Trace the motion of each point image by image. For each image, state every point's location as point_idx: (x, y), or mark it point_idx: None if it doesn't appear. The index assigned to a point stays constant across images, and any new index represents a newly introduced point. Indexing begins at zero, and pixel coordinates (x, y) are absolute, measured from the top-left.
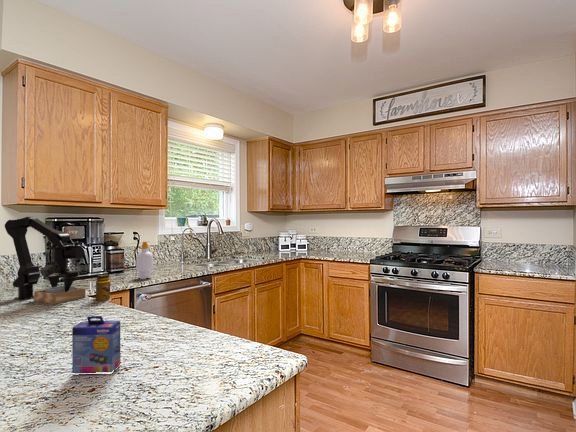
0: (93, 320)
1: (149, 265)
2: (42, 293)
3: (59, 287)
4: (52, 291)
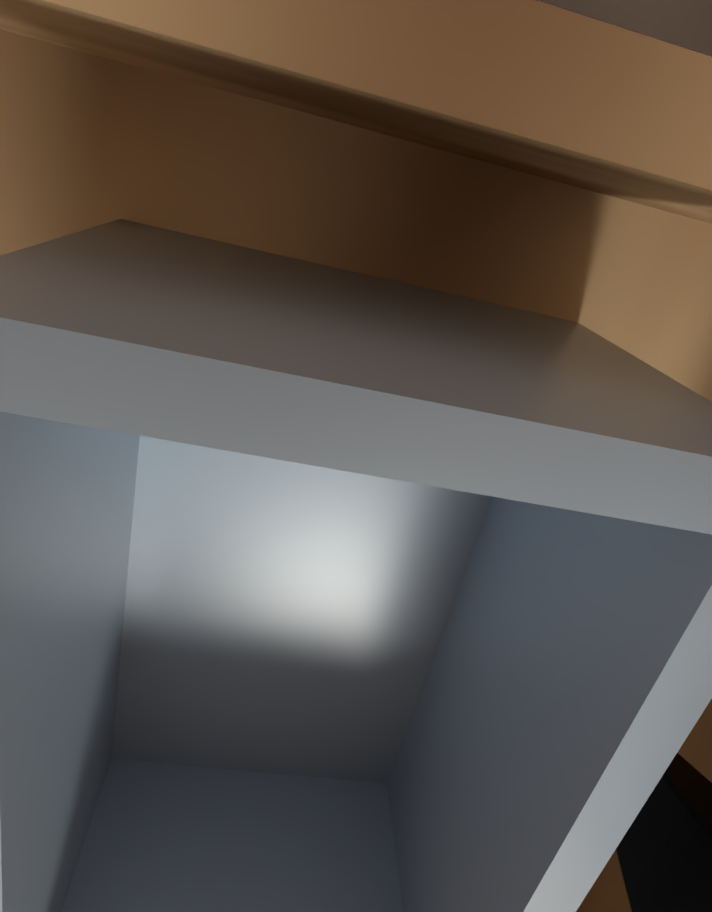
0: None
1: None
2: (625, 42)
3: (489, 899)
4: (140, 309)
